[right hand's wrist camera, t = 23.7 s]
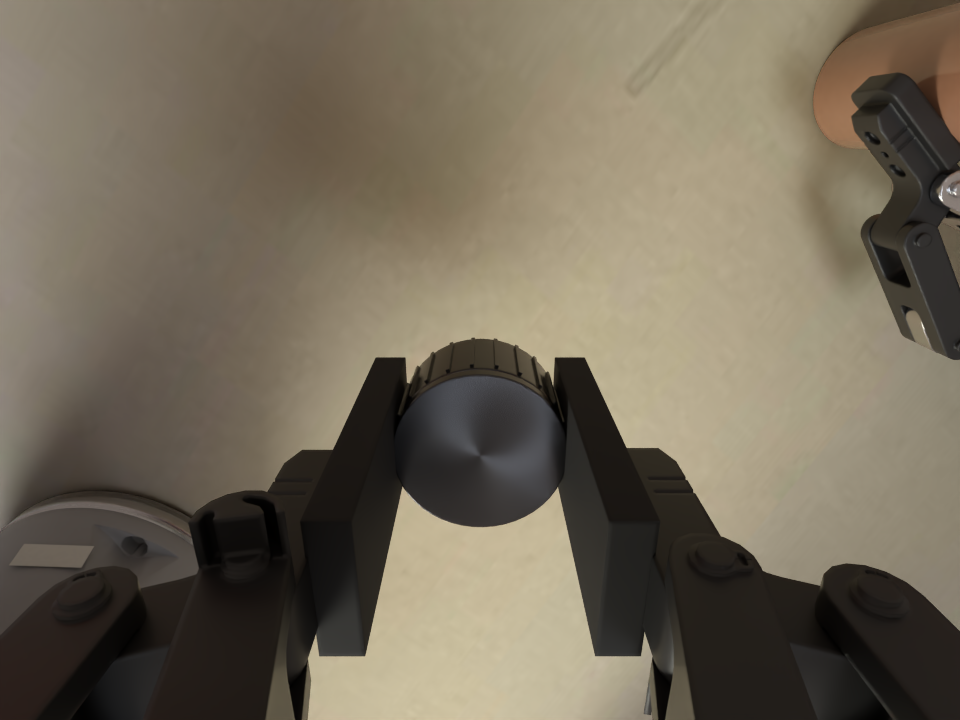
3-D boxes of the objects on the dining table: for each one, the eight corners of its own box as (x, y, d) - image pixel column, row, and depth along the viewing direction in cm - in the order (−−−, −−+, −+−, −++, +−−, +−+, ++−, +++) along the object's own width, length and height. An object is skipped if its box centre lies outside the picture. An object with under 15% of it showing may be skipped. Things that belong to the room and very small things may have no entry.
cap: (445, 494, 16) (439, 552, 14) (375, 373, 14) (355, 415, 12) (581, 442, 15) (596, 493, 13) (521, 309, 14) (528, 342, 12)
